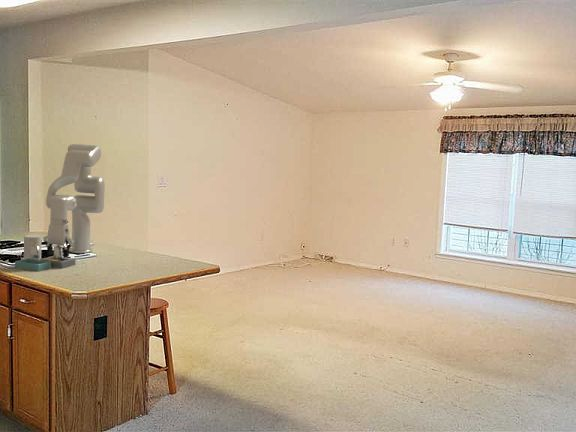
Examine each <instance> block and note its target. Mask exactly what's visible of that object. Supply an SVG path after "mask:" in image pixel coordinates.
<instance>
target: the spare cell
mask: <svg viewBox="0 0 576 432" xmlns="http://www.w3.org/2000/svg"><path fill="white" fill-rule="evenodd" d="M31 259H36V260H40V246H37V245H34V246H31Z"/></svg>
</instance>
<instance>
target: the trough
mask: <svg viewBox="0 0 576 432" xmlns="http://www.w3.org/2000/svg"><path fill="white" fill-rule="evenodd" d="M14 268H16V269H22V270H27V271H35V272H41V271H44V270H48V269H52V267H51V262H49V261H42V260H36V259H29V258H28V259H24V258H23V259H20V260H15V261H14Z"/></svg>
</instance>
